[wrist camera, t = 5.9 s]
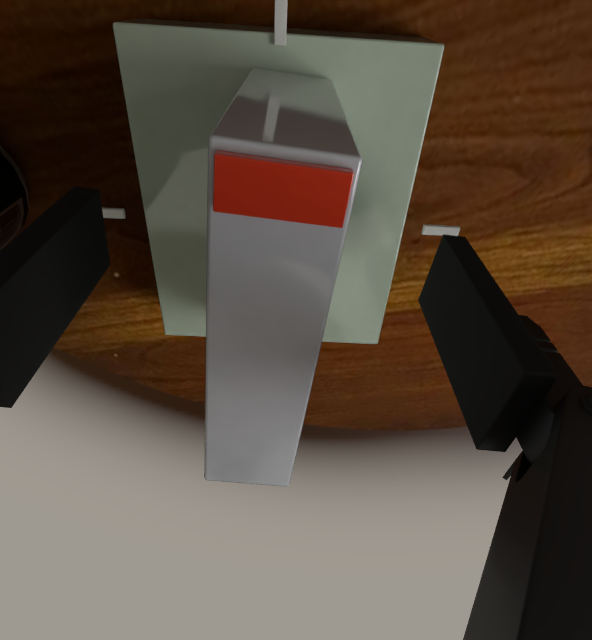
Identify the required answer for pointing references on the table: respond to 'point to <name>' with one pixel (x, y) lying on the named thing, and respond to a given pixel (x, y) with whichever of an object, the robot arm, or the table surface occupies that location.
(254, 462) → the red-tipped leaning gray slab
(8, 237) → the beer can
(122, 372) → the table surface
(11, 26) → the table surface
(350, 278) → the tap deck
